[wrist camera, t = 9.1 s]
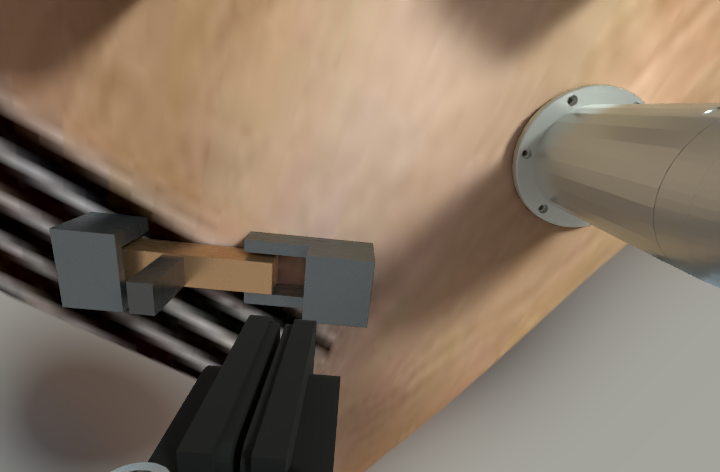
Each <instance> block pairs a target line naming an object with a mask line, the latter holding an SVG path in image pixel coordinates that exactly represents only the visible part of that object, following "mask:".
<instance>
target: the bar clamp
mask: <svg viewBox="0 0 720 472" xmlns="http://www.w3.org/2000/svg"><path fill="white" fill-rule="evenodd" d="M49 230H50V235H51V241H52V247H53V253H54V259H55V265H56V270H57V276H58V282H59V288H60V294H61V300H62V305H63V307H69V308H81V309H92V310H103V311H114V312H124V311H125V310H126V309H127V308H129V306H128V297H127V287H126V281H125V273H124V264H123V254H122V247H123V246H124V245H126V244H128V243H129V242H131V241H133V240H134V239H136V238H138V237H140V236H141V235H143V234H145V233H146V232H148V231H149V230H148V218H147V217H137V216H127V215H117V214H107V213H97V212H90V213H88V214H85V215H83V216H80V217H77V218H75V219H72V220H70V221H67V222H65V223H62V224H60V225H57V226H54V227H52V228H49ZM244 252H252V253H262V254H273V255H283V256H294V257H304V258H306V265H305V281H304V286H297V285H286V284H276V286H275V288H274V290H273V292H272V294H260V293H249V292H244V303H248V304H259V305H271V306H282V307H293V308H303V313H302V320H313V321H316V323H320V324H331V325H343V326H354V327H365V328H367V321H368V313H369V305H370V298H371V290H372V282H373V274H374V266H375V258H374V248H373V243H364V242H354V241H344V240H333V239H323V238H313V237H303V236H292V235H282V234H272V233H262V232H251V233H250V234H249V235H248V236H247V237H246V238H245V239H244Z"/></svg>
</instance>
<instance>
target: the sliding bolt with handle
mask: <svg viewBox="0 0 720 472" xmlns="http://www.w3.org/2000/svg"><path fill="white" fill-rule="evenodd" d="M122 254H123V264H124V273H125V281H126V287H127V297H128V306H129V314H141V315H152V316H155V315H156V314H157V313H158V312H159V311H160V310H161V309H162V308H163V307H164V306H165V305H166V304H167V303H168V302H169V301H170V300H171V299H172V298H173V297H174V296H175V295H176V294H177V293H178V292H179V291H180V290H181V289H182V288H183V287H194V288H205V289H216V290H227V291H238V292H249V293H260V294H272V292H273V290H274V288H275V286H276V283H277V281H278V262H279V255H273V254H262V253H252V252H244V248H237V247H227V246H217V245H206V244H196V243H185V242H175V241H164V240H154V239H143V238H136V239H134V240H133V241H131V242H129V243H128V244H126V245H124V246H123V247H122Z"/></svg>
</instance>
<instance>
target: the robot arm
mask: <svg viewBox="0 0 720 472" xmlns="http://www.w3.org/2000/svg"><path fill="white" fill-rule="evenodd" d="M568 98H569V99H570V100H569V103H567V100H568ZM524 150H525V155H523V156H522V152H523V151H524ZM512 171H513V181H514V184H515V187H516V191H517V193H518V195H519V197H520V199H521V200H522V202H523V203H524V205H525V206H526V207H527V208H528V209H529V210H530V211H531V212H532V213H534V214H535V215H537V216H538V217H540V218H541V219H543V220H545V221H547V222H549V223H551V224H555V225H558V226H562V227H572V228H574V227H586V226H590V225H593V226H595V227H597V228H599V229H601V230H603V231H605V232H607V233H609V234H611V235H613V236H615V237H616V238H618V239H620V240H622V241H624V242H626V243H628V244H630V245H632V246H634V247H636V248H638V249H640V250H642V251H644V252H646V253H648V254H650V255H652V256H654V257H656V258H658V259H660V260H662V261H664V262H666V263H668V264H670V265H672V266H674V267H676V268H678V269H680V270H682V271H684V272H686V273H688V274H690V275H692V276H694V277H696V278H698V279H700V280H702V281H704V282H707V283H709V284H711V285H714V286H716V287H719V288H720V103H669V104H645V102H644V101H642V100H641V99H640V98H639V97H638V96H636V95H635V94H634V93H632V92H630V91H628V90H626V89H624V88H620V87H616V86H612V85H589V86H582V87H578V88H575V89H571V90H568V91H566V92H564V93H562V94H560V95H558V96H556V97H554V98H553V99H551V100H550V101H549V102H547V103H546V104H545V105H543V106H542V107H541V108H540V109H539V110H538V111H537V112H536V113H535V114H534V115H533V116H532V117H531V119H530V120H529V122H528V123H527V124H526V126H525V127H524V129H523V131H522V133H521V135H520V137H519V139H518V141H517V144H516V148H515V151H514V155H513V165H512ZM540 206H541V208H540V209H538V208H539V207H540ZM315 339H316V321H313V320H302V319H295V320H294V323H293V324H286V325H285V327H284V330H283V333H282V336H281V339H280V323H273V318H272V317H268V316H257V315H250V316H249V317H248V319H247V321H246V323H245V325H244V326H243V328H242V330H241V332H240V334H239V336H238V338H237V339H236V341H235V343H234V345H233V347H232V349H231V351H230V352H229V354H228V356H227V358H226V360H225V362H224V364H223V365H222V367H221V366H210V365H209V366H207V367H205V369H204V370H203V371H202V373H201V375H200V376H199V378H198V380H197V381H196V383H195V385H194V386H193V388H192V390H191V391H190V393H189V395H188V396H187V398H186V400H185V401H184V403H183V404H182V406H181V408H180V409H179V411H178V413H177V414H176V416H175V418H174V419H173V421H172V423H171V424H170V426H169V428H168V429H167V431H166V433H165V434H164V436H163V438H162V439H161V441H160V443H159V444H158V446H157V448H156V449H155V451H154V453H153V454H152V456H151V458H150V459H149V461H148V462H139V463H134V464H128V465H125V466H123V467H120V468H118V469H116V470H113V471H111V472H333V464H334V452H335V439H336V426H337V414H338V401H339V389H340V376H328V375H316V374H313V367H314V353H315Z"/></svg>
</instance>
